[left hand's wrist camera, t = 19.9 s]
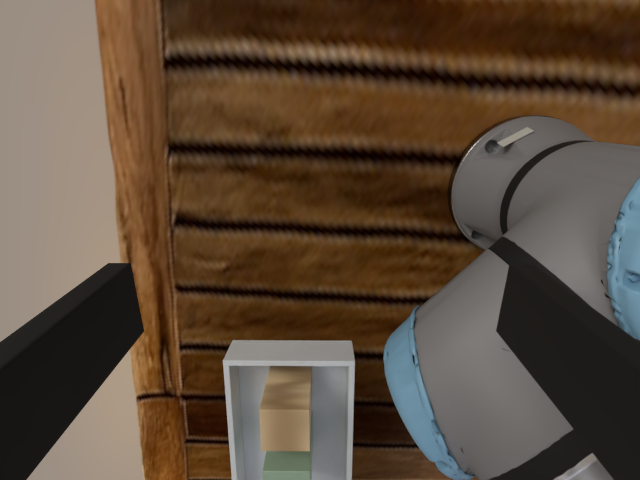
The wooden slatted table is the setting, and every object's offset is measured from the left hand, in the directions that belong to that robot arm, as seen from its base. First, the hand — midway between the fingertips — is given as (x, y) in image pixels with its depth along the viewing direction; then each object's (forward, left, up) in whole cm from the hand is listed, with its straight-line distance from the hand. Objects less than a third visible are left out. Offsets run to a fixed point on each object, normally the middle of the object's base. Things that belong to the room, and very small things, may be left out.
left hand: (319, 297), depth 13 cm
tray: (+3, +34, -21) cm, 40 cm away
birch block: (+3, +22, -21) cm, 31 cm away
